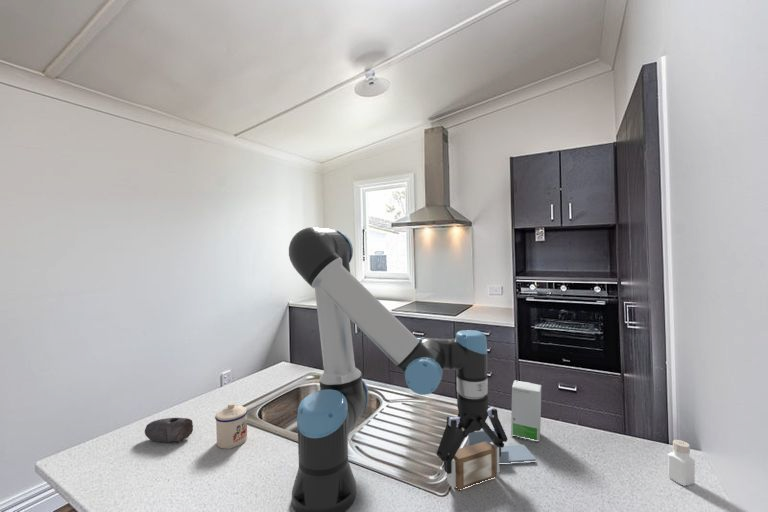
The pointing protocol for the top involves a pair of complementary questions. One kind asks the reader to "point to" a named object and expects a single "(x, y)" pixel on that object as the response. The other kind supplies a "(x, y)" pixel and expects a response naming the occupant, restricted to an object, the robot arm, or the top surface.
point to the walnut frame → (474, 464)
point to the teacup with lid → (231, 426)
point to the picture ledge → (507, 452)
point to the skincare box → (526, 410)
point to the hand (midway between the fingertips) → (473, 476)
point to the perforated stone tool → (169, 429)
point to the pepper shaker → (681, 463)
